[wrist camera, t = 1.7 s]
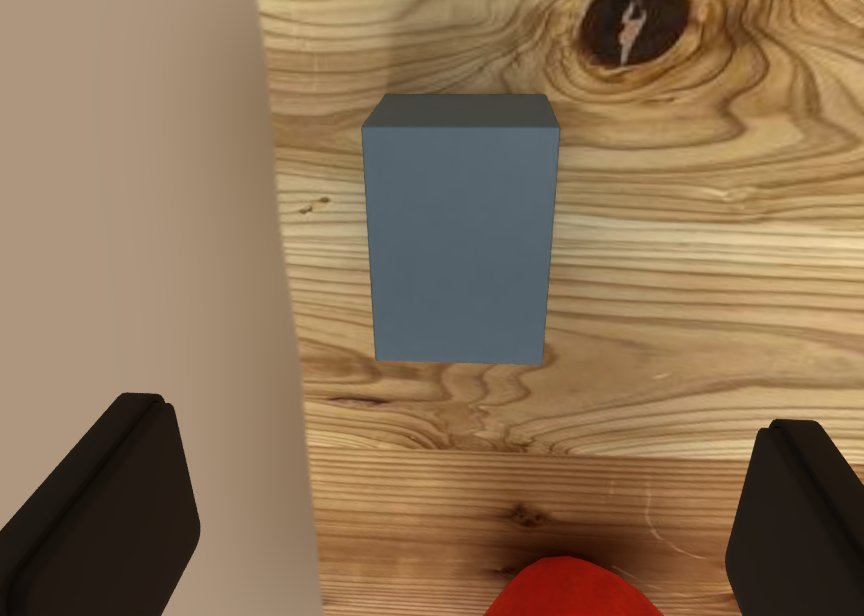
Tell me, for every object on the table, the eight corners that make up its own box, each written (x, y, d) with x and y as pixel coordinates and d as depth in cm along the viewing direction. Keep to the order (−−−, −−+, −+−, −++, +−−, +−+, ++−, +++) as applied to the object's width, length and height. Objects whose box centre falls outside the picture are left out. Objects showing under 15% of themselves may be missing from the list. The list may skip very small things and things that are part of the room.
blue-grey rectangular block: (533, 297, 24) (542, 365, 20) (393, 295, 24) (375, 361, 20) (546, 93, 20) (560, 126, 16) (384, 94, 21) (361, 125, 17)
